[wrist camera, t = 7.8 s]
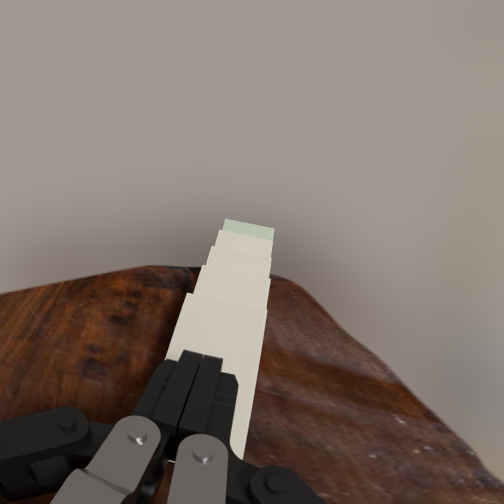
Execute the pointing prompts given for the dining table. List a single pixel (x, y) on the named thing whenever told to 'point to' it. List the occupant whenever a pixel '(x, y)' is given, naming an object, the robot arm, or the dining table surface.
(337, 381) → the dining table surface
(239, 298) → the domino
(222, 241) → the domino
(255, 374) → the domino
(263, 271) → the domino
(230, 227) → the domino
